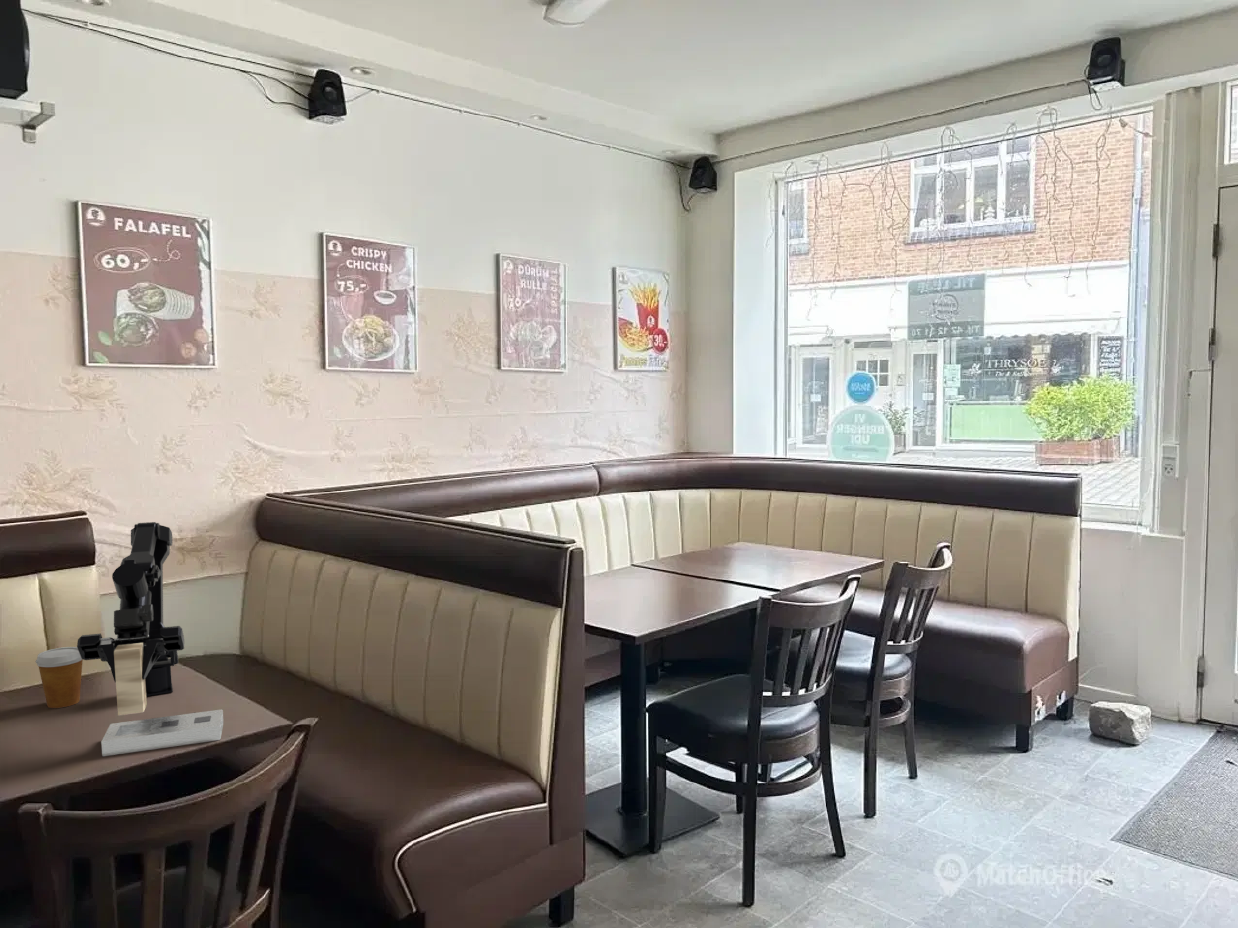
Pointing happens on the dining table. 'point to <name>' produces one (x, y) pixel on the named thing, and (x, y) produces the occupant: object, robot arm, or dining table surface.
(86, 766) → the dining table surface
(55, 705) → the disposable coffee cup
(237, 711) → the dining table surface
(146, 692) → the robot arm
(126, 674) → the beech peg
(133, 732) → the white flat block
